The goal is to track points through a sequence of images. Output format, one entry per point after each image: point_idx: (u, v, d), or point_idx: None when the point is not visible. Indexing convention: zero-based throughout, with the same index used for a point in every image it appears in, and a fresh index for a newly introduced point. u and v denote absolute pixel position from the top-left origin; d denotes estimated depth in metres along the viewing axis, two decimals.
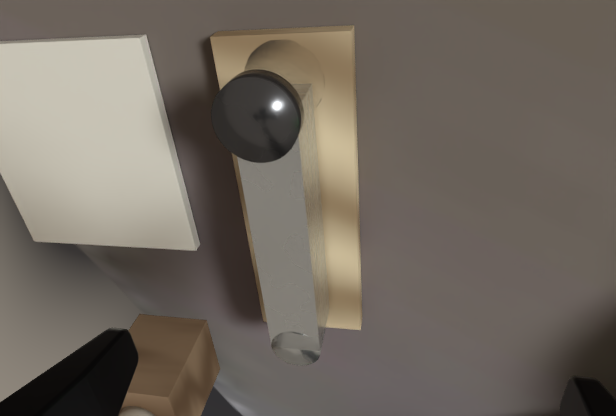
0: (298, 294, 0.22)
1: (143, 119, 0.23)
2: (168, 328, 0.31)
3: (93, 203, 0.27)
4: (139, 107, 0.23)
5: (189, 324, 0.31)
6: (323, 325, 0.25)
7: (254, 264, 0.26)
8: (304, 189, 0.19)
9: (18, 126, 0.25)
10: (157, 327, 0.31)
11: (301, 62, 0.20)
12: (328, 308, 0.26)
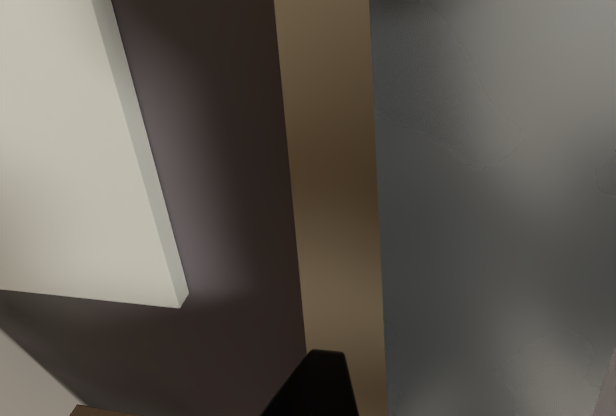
0: None
1: None
2: None
3: None
4: None
5: None
6: None
7: (310, 346, 0.12)
8: None
9: None
10: None
11: None
12: None
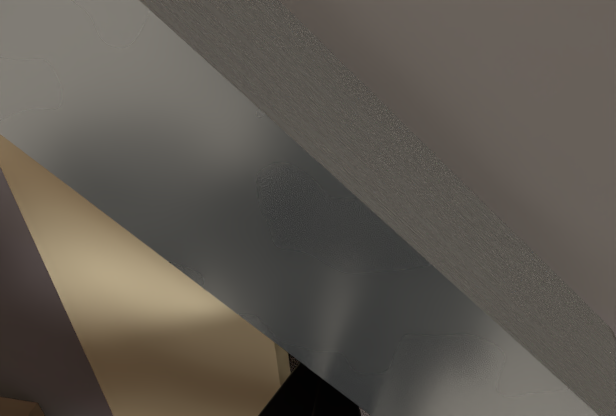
0: (457, 357, 0.06)
1: None
2: None
3: None
4: None
5: (5, 410, 0.18)
6: None
7: (74, 323, 0.13)
8: None
9: None
10: None
11: None
12: (607, 331, 0.09)
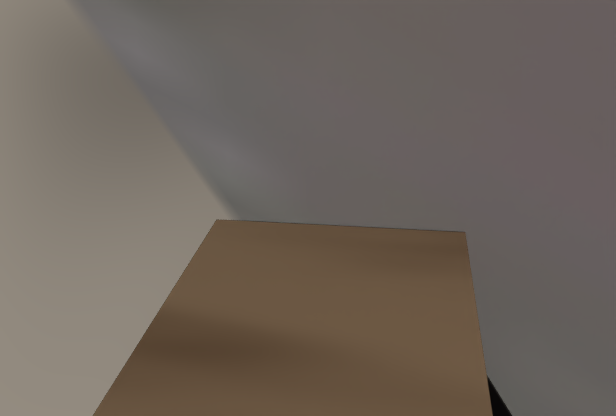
0: None
1: None
2: (335, 259, 0.08)
3: None
4: None
5: (409, 246, 0.09)
6: None
7: None
8: None
9: None
10: (292, 256, 0.09)
11: None
12: None
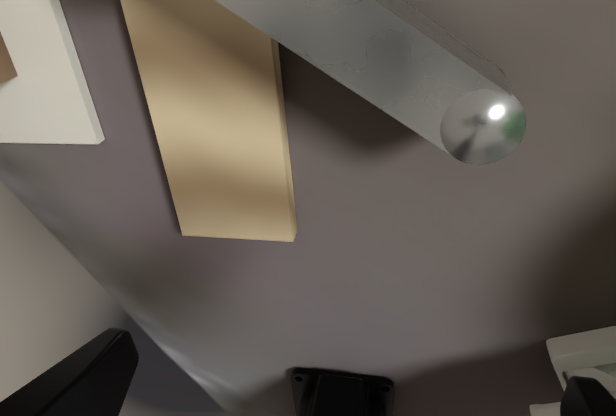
0: (392, 45, 0.14)
1: None
2: None
3: None
4: None
5: None
6: (492, 73, 0.15)
7: (163, 157, 0.22)
8: None
9: None
10: None
11: None
12: (494, 65, 0.17)
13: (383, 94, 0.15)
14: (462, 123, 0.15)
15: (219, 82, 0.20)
